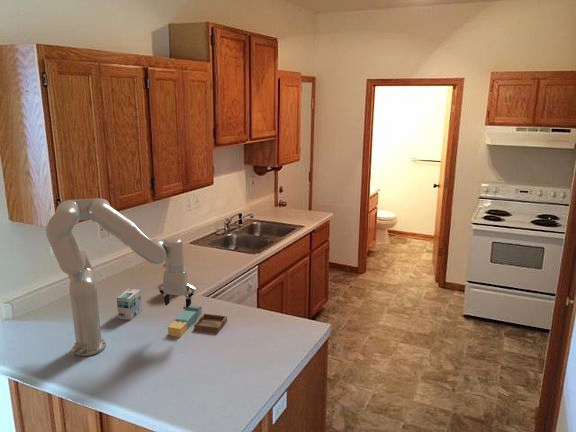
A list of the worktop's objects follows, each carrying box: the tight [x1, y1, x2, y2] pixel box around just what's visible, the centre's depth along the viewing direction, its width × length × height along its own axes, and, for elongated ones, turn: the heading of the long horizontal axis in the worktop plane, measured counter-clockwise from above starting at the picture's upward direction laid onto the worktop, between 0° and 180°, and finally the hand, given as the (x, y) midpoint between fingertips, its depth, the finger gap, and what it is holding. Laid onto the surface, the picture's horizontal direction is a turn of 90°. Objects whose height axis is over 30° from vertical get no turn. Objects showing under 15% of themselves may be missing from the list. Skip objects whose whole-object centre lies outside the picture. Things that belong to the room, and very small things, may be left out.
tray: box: [193, 313, 228, 334], centre depth 207 cm, size 11×11×2 cm
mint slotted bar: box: [174, 304, 203, 331], centre depth 211 cm, size 16×8×5 cm, turn 168°
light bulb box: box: [116, 288, 143, 321], centre depth 216 cm, size 11×7×11 cm, turn 168°
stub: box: [167, 320, 188, 338], centre depth 201 cm, size 6×6×4 cm
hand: (177, 305), depth 198 cm, fingers open, 9 cm apart
